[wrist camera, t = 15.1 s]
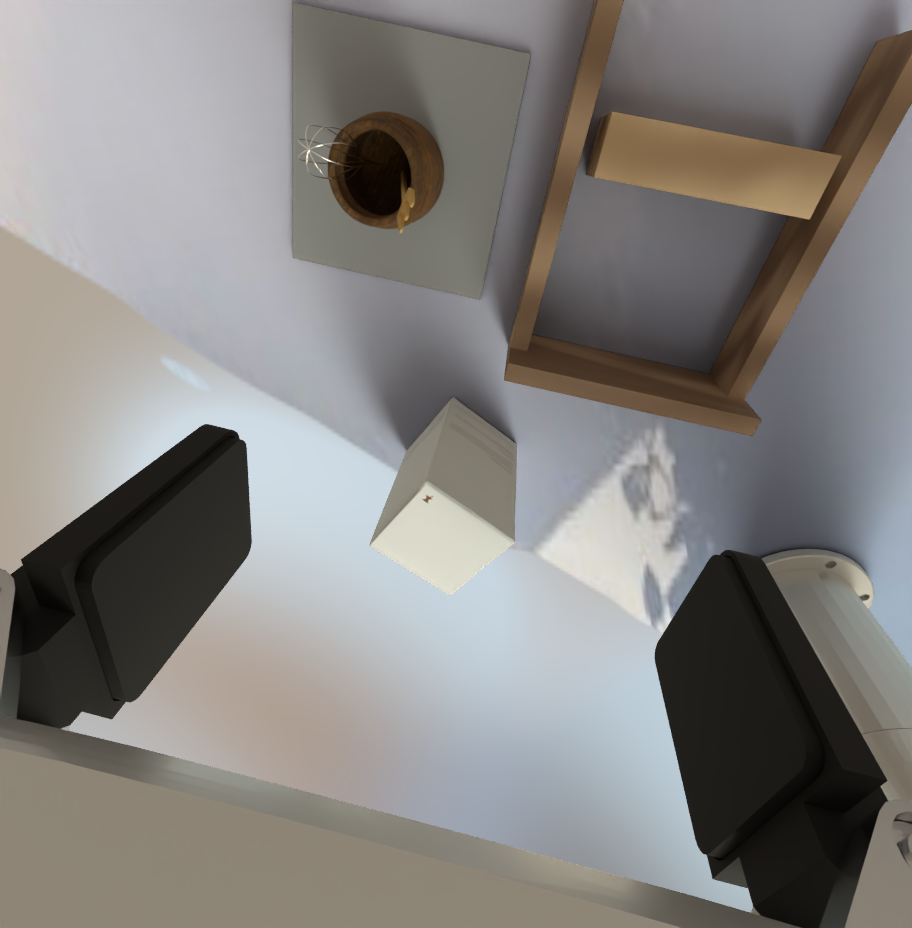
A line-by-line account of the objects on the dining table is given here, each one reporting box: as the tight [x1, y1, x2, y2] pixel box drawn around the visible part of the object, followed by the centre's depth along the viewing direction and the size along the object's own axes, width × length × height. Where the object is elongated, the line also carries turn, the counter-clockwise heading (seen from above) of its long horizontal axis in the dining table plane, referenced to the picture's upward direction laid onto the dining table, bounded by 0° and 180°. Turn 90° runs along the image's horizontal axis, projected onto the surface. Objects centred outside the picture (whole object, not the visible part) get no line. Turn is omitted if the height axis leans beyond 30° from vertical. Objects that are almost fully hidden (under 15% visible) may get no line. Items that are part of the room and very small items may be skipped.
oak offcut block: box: [586, 111, 842, 220], centre depth 28 cm, size 3×12×5 cm, turn 81°
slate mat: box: [293, 2, 531, 300], centre depth 32 cm, size 14×14×1 cm
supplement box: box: [370, 397, 517, 595], centre depth 38 cm, size 7×7×13 cm
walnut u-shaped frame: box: [504, 0, 912, 436], centre depth 29 cm, size 21×16×7 cm
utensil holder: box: [298, 111, 444, 233], centre depth 27 cm, size 6×6×12 cm
